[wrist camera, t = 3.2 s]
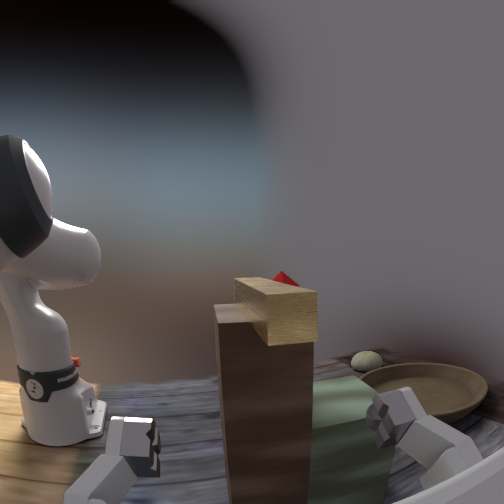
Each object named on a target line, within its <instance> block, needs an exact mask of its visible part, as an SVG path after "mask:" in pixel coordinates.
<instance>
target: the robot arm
mask: <svg viewBox="0 0 504 504" xmlns="http://www.w3.org/2000/svg"><path fill="white" fill-rule="evenodd" d="M52 207H53V197H52V189H51V184H50V180H49V177H48V174H47V171H46V169H45V167H44V165H43V163H42V162H41V160H40V159H39V157H38V156H37V155H36V154H35V152H34V151H33V150H32V149H30V148H29V146H28V144H27V142H26V141H25V140H23V139H21V138H18V137H14V136H12V135H4V136H0V301H1V302H2V304H3V306H4V308H5V310H6V313H7V315H8V318H9V321H10V324H11V328H12V332H13V338H14V343H15V348H16V353H17V359H18V365H17V369H18V377H19V381H20V384H21V386H22V387H21V388H20V390H19V392H20V399H21V405H22V411H23V416H24V418H22V419H21V421H22V425H23V426H24V427H25V428H26V429H27V432H28V435H29V437H30V438H31V439H32V440H34V441H36V442H38V443H40V444H44V445H49V446H66V445H71V444H75V443H78V442H81V441H83V440H86V439H89V438H95V437H99V436H101V435H102V434H103V428H104V422H105V417H106V411H107V405H106V403H105V402H103V401H100V400H96V398H95V393H94V389H93V387H92V386H91V385H90V384H89V383H87V382H85V381H84V380H82V379H81V378H80V377H79V375H78V372H77V368H76V367H80V359H79V358H78V357H77V358H72V357H71V351H70V344H69V336H68V327H67V325H66V323H65V321H64V319H63V318H62V317H61V316H60V315H59V314H58V313H57V312H55V311H53V310H51V309H50V308H48V307H46V306H45V305H44V304H43V302H42V301H41V300H40V297H39V294H38V290H37V289H69V288H74V287H78V286H82V285H86V284H90V283H91V282H92V281H93V280H94V278H95V277H96V275H97V273H98V271H99V268H100V264H101V251H100V247H99V244H98V242H97V240H96V238H95V236H94V235H93V234H92V233H91V232H90V231H89V230H86V229H81V228H77V227H74V226H71V225H68V224H65V223H63V222H60V221H58V220H56V219H54V218H53V212H52ZM372 402H373V404H372V405H370V406H369V407H368V409H367V412H366V420H367V424H368V426H369V428H370V429H372V430H373V431H375V432H374V436H373V437H374V440H375V442H376V444H377V446H378V449H382V448H386V447H389V446H393V445H396V444H397V446H398V447H399V448H401V449H402V450H403V451H405V452H406V453H407V454H408V455H410V456H411V457H412V458H414V459H415V460H416V461H417V462H419V463H420V464H421V465H423V466H424V467H425V468H427V470H426V471H425V472H424V473H423V474H422V475H421V476H420V478H419V480H420V482H421V484H422V487H423V489H424V491H422V492H420V493H417V494H415V495H413V496H410V497H408V498H405V499H403V500H400V501H398V502H395V503H392V504H504V447H503V448H501V449H500V450H498V451H497V452H495V453H493V454H492V455H490V456H489V457H487V458H485V459H484V460H483V458H482V456H481V454H480V453H479V451H478V449H477V447H476V446H475V444H474V442H473V441H472V439H471V437H469V436H467V435H465V434H463V433H461V432H460V431H458V430H456V429H454V428H453V427H451V426H449V425H447V424H445V423H444V422H442V421H440V420H438V419H437V418H435V417H433V416H431V415H428V416H427V414H426V412H425V411H424V409H423V407H422V406H421V404H420V402H419V401H418V399H417V397H416V396H415V394H414V392H413V391H412V389H411V388H410V387H404V388H400V389H396V390H392V391H388V392H385V393H381V394H377V395H375V396H374V397H373V399H372ZM155 424H156V423H155V421H154V418H133V417H118V416H112V418H111V420H110V425H109V431H108V437H107V444H106V451H105V454H101V455H100V456H99V457H98V458H97V459H96V460H95V461H94V462H93V463H92V464H91V465H90V466H89V468H88V469H87V470H86V471H85V472H84V473H83V474H82V475H81V476H80V477H79V478H78V479H77V480H76V481H75V482H74V483H73V484H72V485H71V486H70V487H69V488H68V489H67V490H66V491H65V494H64V501H63V504H120V502H121V501H122V500H123V498H124V497H125V495H126V494H127V493H128V491H129V490H130V488H131V487H132V486H133V484H134V483H135V481H136V480H137V479H138V478H137V477H159V478H160V461H159V458H158V454H159V453H160V452H161V444H160V435H159V431H158V429H156V428H155Z"/></svg>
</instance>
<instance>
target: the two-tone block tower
mask: <svg viewBox="0 0 504 504" xmlns="http://www.w3.org/2000/svg"><path fill="white" fill-rule="evenodd" d="M214 318H215V338H216V355H217V371H218V386H219V399H220V413H221V425H222V437H223V448H224V459H225V469H226V479H227V488H228V494H229V501H230V504H383V500H384V496H385V492H386V488H387V484H388V480H389V475H390V471H391V466H392V461H393V456H394V451H395V445H393V446H389V447H386V448H382V449H378V446H377V444H376V442H375V440H374V437H373V436H374V432H375V431H373V430H372V429H370V428H369V426H368V424H367V420H366V412H367V409H368V407H369V406H370V405H372V404H373V402H372V399H373V397H374V396H375V395H377V394H380V393H378V392H377V391H376V390H374V389H373V388H371V387H370V386H368V385H367V384H366V383H364V382H363V381H361V380H360V379H358V378H357V377H356V376H354V375H353V376H347V377H341V378H335V379H329V380H323V381H316V382H313V360H314V358H313V356H314V354H313V352H314V350H313V349H314V348H313V347H314V343H313V342H306V343H296V344H285V345H274V346H268V345H267V344H266V343H265V342H264V340H263V339H262V338H261V337H260V335H259V334H258V333H257V331H256V330H255V329H254V328H253V326H252V325H251V324H250V322H249V321H248V320H247V319H246V317H245V316H244V315H243V313H242V312H241V311H240V309H239V308H238V307H237V306H236V304H219V305H214Z"/></svg>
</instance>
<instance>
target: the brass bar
mask: <svg viewBox="0 0 504 504" xmlns="http://www.w3.org/2000/svg"><path fill="white" fill-rule="evenodd" d="M234 287H235V288H234V289H235V304H236V306H237V307H238V308H239V309H240V311H241V312H242V313H243V315H244V316H245V317H246V319H247V320H248V321H249V322H250V324H251V325H252V326H253V328H254V329H255V330H256V331H257V333H258V334H259V335H260V337H261V338H262V339H263V340H264V342H265V343H266V344H267V345H268V346H274V345H285V344H296V343H306V342H315V341H317V291H313V290H309V289H305V288H301V287H297V286H292V285H288V284H284V283H280V282H276V281H272V280H268V279H264V278H260V277H255V278H234Z"/></svg>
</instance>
